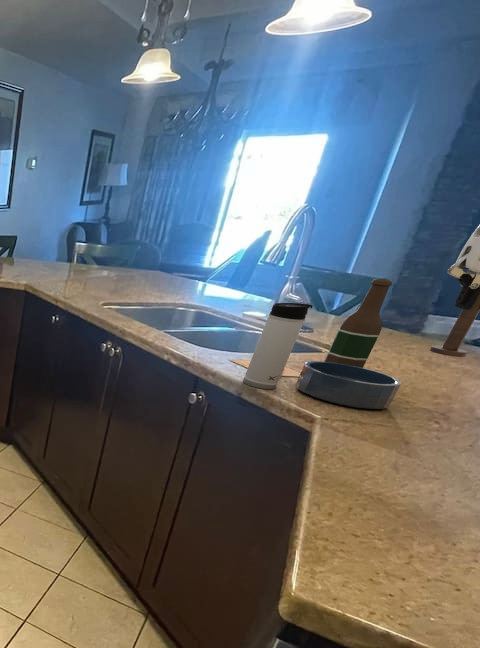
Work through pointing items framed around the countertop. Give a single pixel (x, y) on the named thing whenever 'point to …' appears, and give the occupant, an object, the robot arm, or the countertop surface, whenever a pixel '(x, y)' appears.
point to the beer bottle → (360, 328)
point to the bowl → (348, 385)
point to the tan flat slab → (285, 373)
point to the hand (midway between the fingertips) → (472, 308)
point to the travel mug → (275, 344)
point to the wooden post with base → (459, 332)
